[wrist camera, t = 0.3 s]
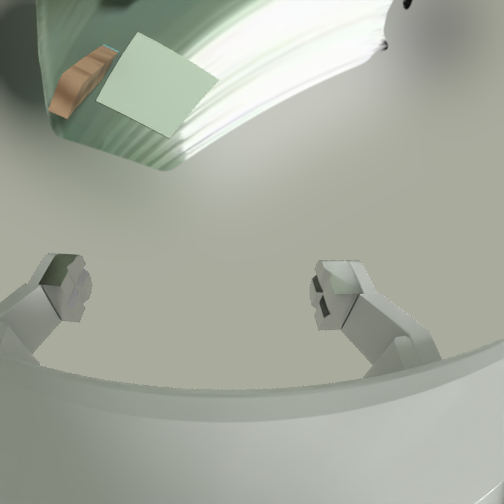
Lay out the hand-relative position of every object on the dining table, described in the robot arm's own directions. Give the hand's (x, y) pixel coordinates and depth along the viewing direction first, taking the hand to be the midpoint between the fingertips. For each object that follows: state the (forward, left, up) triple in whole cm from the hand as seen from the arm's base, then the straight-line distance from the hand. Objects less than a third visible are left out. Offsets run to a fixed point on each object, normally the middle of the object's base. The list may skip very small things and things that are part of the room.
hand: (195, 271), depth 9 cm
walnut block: (+18, -15, -51) cm, 56 cm away
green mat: (+18, -2, -51) cm, 54 cm away
